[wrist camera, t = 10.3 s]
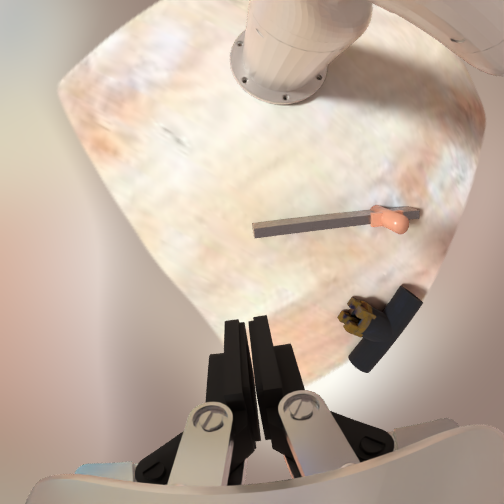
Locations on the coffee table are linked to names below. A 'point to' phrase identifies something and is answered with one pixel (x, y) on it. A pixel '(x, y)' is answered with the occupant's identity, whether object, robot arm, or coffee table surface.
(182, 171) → the coffee table surface
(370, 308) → the pipe connector
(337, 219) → the guide rail
